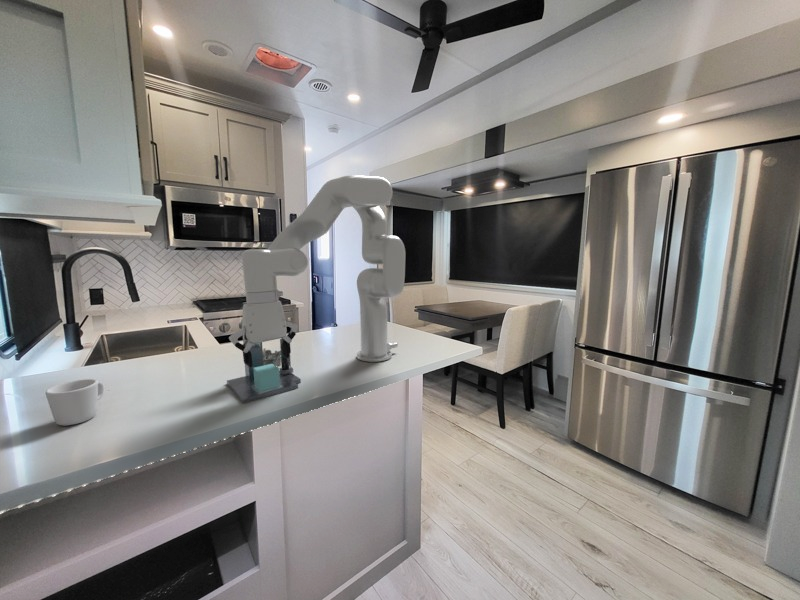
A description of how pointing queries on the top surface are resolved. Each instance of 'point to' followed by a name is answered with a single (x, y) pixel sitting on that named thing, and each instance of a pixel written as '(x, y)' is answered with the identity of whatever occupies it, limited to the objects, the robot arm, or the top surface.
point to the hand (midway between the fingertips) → (268, 360)
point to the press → (245, 384)
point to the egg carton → (271, 357)
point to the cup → (74, 401)
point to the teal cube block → (266, 377)
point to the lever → (285, 362)
